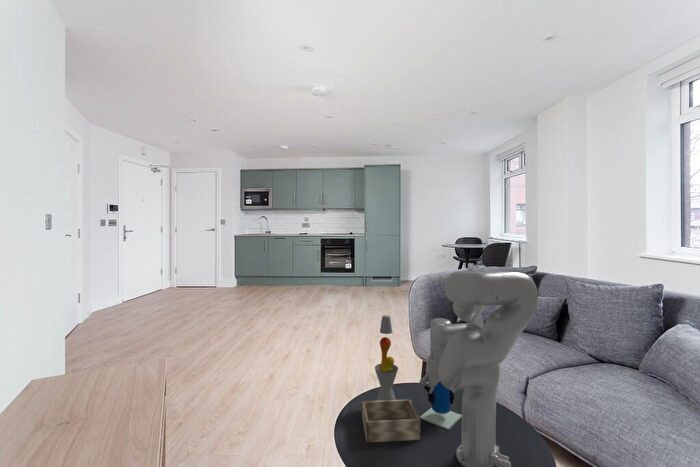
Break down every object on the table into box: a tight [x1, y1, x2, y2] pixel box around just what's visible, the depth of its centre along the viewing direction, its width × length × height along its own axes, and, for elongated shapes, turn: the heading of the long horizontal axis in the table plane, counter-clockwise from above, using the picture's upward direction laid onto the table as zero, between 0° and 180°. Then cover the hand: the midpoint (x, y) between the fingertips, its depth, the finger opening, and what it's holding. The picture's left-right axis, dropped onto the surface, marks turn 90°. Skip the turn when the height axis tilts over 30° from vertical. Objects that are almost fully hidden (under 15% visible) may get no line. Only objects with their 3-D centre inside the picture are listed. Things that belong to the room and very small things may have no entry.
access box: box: [361, 398, 421, 443], centre depth 119 cm, size 18×14×6 cm
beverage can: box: [431, 381, 451, 414], centre depth 126 cm, size 6×6×12 cm
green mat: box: [419, 407, 462, 431], centre depth 126 cm, size 11×11×1 cm
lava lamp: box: [374, 314, 399, 401], centre depth 134 cm, size 9×9×35 cm
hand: (440, 402), depth 126 cm, fingers closed on beverage can, 6 cm apart
